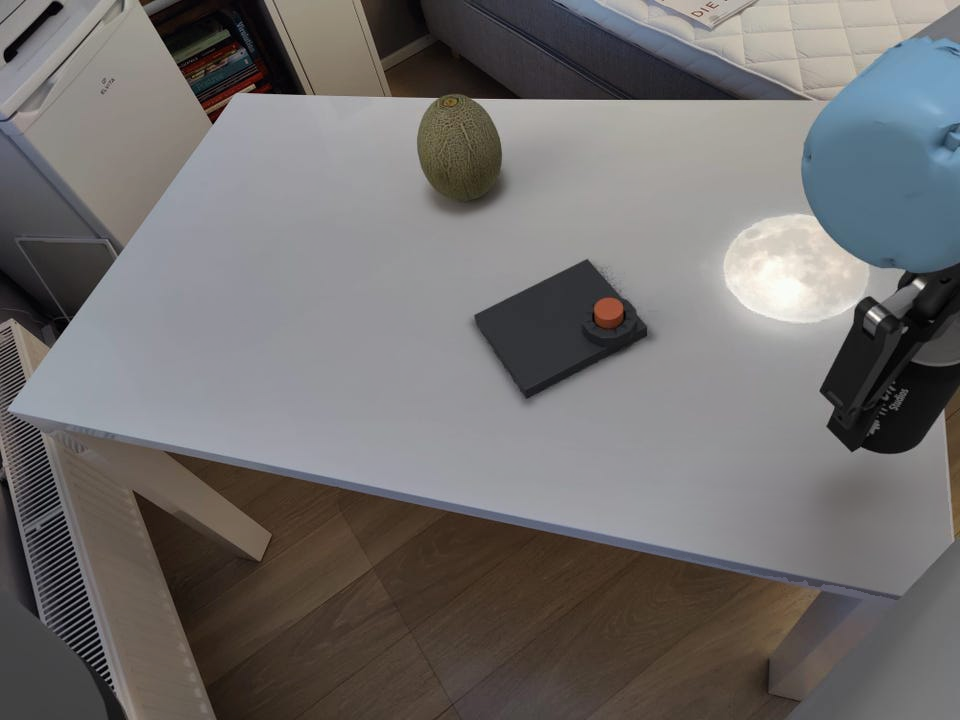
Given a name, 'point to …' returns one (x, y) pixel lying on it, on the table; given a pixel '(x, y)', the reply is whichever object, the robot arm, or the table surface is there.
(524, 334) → the dark grey button plate
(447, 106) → the fruit
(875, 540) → the table surface
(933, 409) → the beverage can
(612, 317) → the button
